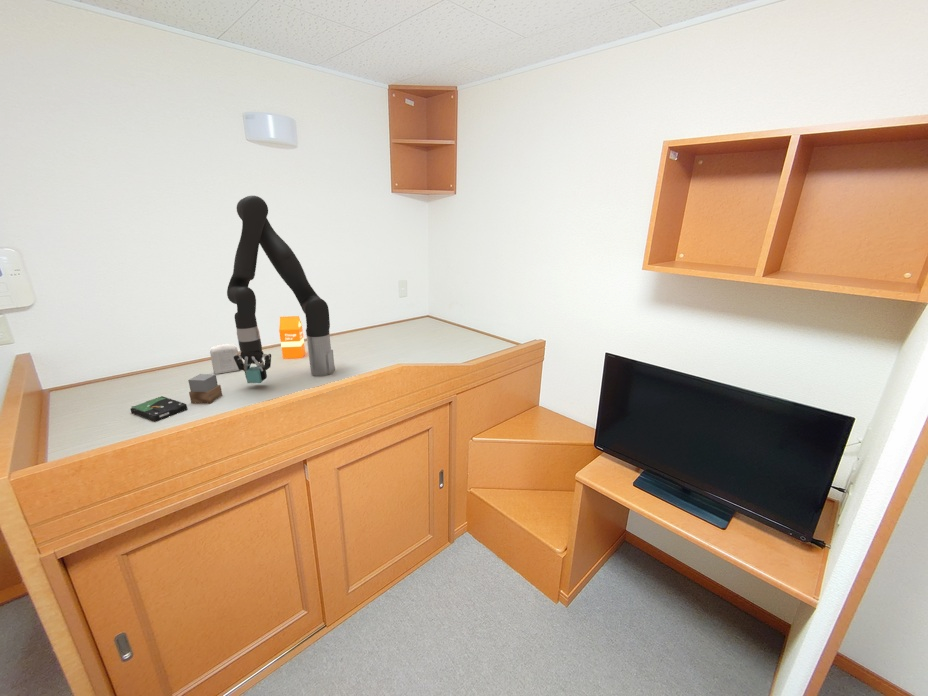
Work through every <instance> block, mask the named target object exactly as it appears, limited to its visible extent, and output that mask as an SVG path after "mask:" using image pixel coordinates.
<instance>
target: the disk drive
mask: <svg viewBox="0 0 928 696" xmlns="http://www.w3.org/2000/svg"><path fill="white" fill-rule="evenodd" d="M185 411H188V405H187V403H185V402H181V401H179V400H174V399H172V398H170V397H169V398H168V397H167V396H166V397H165V396H158V397H156V398H153V399H150V400H146V401H145V402H143V403H139V404H136V405H132V406H131V408H130V413H131V414H134V415H136V416H138V417H141V418H144V419H146V420H149V421H152V422H155V423H157V422H159V421H162V420H164V419H168V418H169V416H170V417H173V416H175V415H177V413H178V414H180V413H183V412H185Z"/></svg>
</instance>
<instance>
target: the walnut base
mask: <svg viewBox="0 0 928 696" xmlns="http://www.w3.org/2000/svg"><path fill="white" fill-rule="evenodd" d="M188 394H189V397H190V398H189V399H190V402H191V404H209V405H211V404H212V403H214V402H215V401H216V400H218V399H219V398H221V397H223V390H222V386H221V384H218V386H217V387H215V388H213V389H211V390H210V391H208V392H191V390H189V392H188Z"/></svg>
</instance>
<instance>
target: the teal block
mask: <svg viewBox="0 0 928 696" xmlns="http://www.w3.org/2000/svg"><path fill="white" fill-rule="evenodd" d="M260 372H261V371H260V369H259V368H258V367H257V366H250V368H249V369H248V370H246V371H245V372H244V374H245V373H246V375H245V378H247V379H246V382H247V384H262V383H263V381H265V380H262V379H261V373H260Z"/></svg>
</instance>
